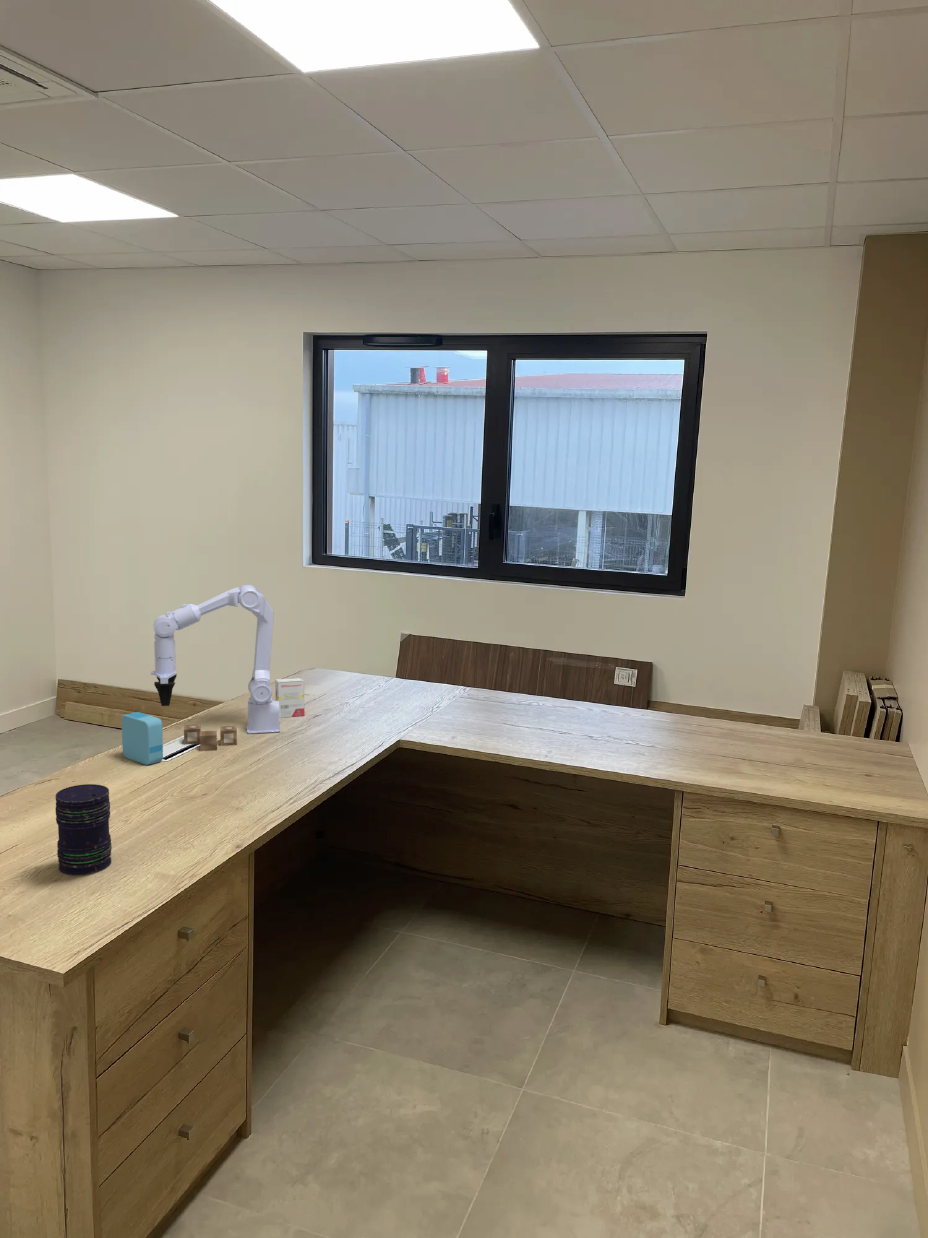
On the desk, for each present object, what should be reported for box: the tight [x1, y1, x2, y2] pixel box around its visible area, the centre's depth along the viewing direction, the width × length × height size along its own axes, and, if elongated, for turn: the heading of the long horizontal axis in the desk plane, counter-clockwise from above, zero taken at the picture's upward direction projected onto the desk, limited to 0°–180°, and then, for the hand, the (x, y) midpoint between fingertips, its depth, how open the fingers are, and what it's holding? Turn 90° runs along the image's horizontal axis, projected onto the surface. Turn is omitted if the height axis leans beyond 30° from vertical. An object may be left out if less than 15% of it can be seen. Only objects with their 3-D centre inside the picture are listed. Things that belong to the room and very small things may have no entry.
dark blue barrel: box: [54, 783, 113, 877], centre depth 174 cm, size 10×10×15 cm
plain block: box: [199, 730, 218, 752], centre depth 250 cm, size 4×4×4 cm
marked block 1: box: [183, 724, 202, 745], centre depth 255 cm, size 4×5×5 cm
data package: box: [121, 711, 164, 766], centre depth 238 cm, size 12×4×12 cm, turn 54°
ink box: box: [274, 677, 305, 719], centre depth 285 cm, size 9×5×12 cm, turn 114°
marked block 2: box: [219, 725, 238, 747], centre depth 255 cm, size 4×5×5 cm
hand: (166, 702), depth 259 cm, fingers open, 7 cm apart
